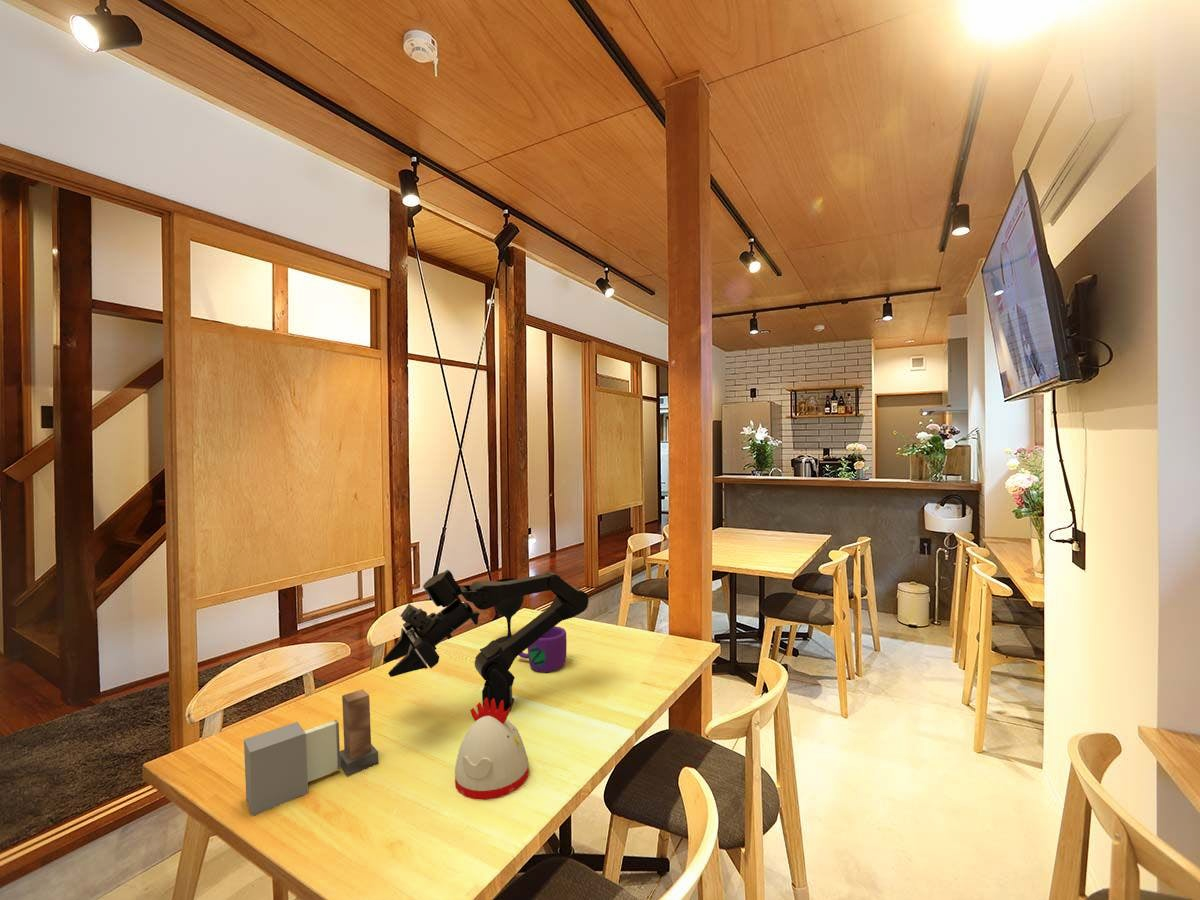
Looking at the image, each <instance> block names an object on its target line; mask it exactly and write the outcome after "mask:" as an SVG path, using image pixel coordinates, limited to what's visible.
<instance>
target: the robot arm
mask: <svg viewBox="0 0 1200 900" xmlns="http://www.w3.org/2000/svg"><path fill="white" fill-rule="evenodd" d="M422 588H423V589H424V591H425V593H427V595H428V596H429V598H430V600H432V602H433V603H434V605H435V607H443V609H441V610H440V611H439V612H438V613H435V612H431V613H430V614H429V615H428V613H427V611H426V610H423V609H422V608H417V607H415V606H413V605H412V604H410V603H408V605H406V607H405V609H404V610H402V612H401V614H400V617H401V620H402V621H403V622H404V623H403V624H402V626H403V627H401V628H400V636H399V639H398V641H397V642H396V643H395V644H394V645H393V646H392V648H391V649H390V650H389V652H388V653H387V654H386V655H385V656H384V657H383V662H384V663H385V664H387V663H390V662H392V661H395V660H397V659H399V658H401V659H400V660H399V662H397V663H396V664H395V665H394V666H393V667H392V668H391V669H390V670H389V671H388V675H389V677H390V678H394V677H396V676H399V675H404V674H407V673H410V672H415V671H418V670H422V669H423V670H427V669H428V668H430V669H432V668H434V667H435V666H436V665H437V664H439V661H440V655H439V654H438V653H437V651H436V650H438V648H437V646H438V645H439V644H440V643H442V642H443V641H444V640H445V639H448V640H450V639H451V638H453V635H452V634H453V633H454V632H455V631H457V630H458V629H459V628H461V627H462V626H464V624H465V623H467V622H468V621H469V620H470V621H471V622H472V623H473V624H474V625H476V626H477V625H478V624H479V617H480V612H479V611H477V610H474V609H473V608H472V607H471V604H472V606H473V607H475V608H477V609H478V610H480V611H483V610H484V611H486V610H488V609H491V608H495V607H494V606H496V605H499V604H500V603H502V602H503V601H505V600H507V599H510V598H515V597H519V596H524V597H525V596H529V595H533V594H538V593H542V592H546V591H551V592H552V593H553V594H554V595H555V596H554V598H553V600H552V601H551V604H550V605H549V607H547V608H546V609H544V611H542V612H541V613H540V614H538V615H537V616H536V617H534V618H533V619H531V621H530V622H528V623H527V624H525V625H524V626H522V628H521V629H519V630H518V631H517V632H515V633H514V634H513V636H511V637H510V638H509V639H508V640H506V641H505V642H502V643H499V644H498V643H497V642H496V641H495V640H496V639H493V640H491V641H490V642H489V643H488V644H487V645H486V646H484V647H482V648H480V649H479V652H478V654H476V656H475V660H474V668H475V669H476V671H477V672H478V674H479V675H480V676H481V678H482V679H483V680H484V681H485V682H484V683H483V685H484V686H483V688H482V691H481V699H482V700H481V701H482V706H483V705H484V699H485V698H488V702H489V706H490V707H491V700H492V699H493V698H494V700H495V703H496V708H497V710H498V708H499V704H500V702H501V701H502V700H503V702H504V711H505V712H506V711H507V710H508V709H509V708H510V712H511V711H512V707H513V705H514V701H515V697H513V685H514V681H515V678H516V677H515V675H514V674H513V673H512V672H511V671H510V669H511V667H512V665H513V664H514V661H515V660H516V658H518V656H519V654H521V653H522V652H523V653H524V651H526V650H528V647H529V646H531V645H532V644H533V643H534V642H536V641H537V640H538V639H539V638H541V637H542V636H543V635H544V634H546V633H547V632H548V631H549V630H551V629H552V628H553V627H554V626H556V627H557V625H558V624H560V623H561V622H562V621H566V620H570V619H573V618H574V617H577V616H578V615H580V614H582V613H583V612H585V611H586V610H587V608H588V607H589V601H590V600H589V596H588V594H587V593H586V592H585V591H583V590H582V589H579V588H577V587H575V586H572V585H570V584H568V583H567V581H565V580H563V578H561V576H559V575H558V574H556V573H554V572H551V571H547V572H546V573H542V574H537V575H532V576H526V577H521V578H516V579H515V580H510V581H505V582H498V581H497V580H477V581H473V582H472V583H471V584H458V581H456V579H455V578H454V575H453V573H452V572H451V571H450V570H449V569H446V570H445V571H443V572H440V573H437V574H436V575H432V576H431V577H430V578H428V580H426V581H425V582H424V584H423V585H422ZM459 596H461V597H462V599H464V600H465V602H463V601H462V599H461V598H460V597H459Z"/></svg>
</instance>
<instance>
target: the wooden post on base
mask: <svg viewBox="0 0 1200 900" xmlns="http://www.w3.org/2000/svg"><path fill="white" fill-rule="evenodd" d="M341 698H342V699H341V701H342V721H343V722H342V723H343V726H342V728H343V744H344V745H343V746H344V747H343V749H340V769H341V770H342V771H343V773H344V774H345V775H346V777H350V776H353V775H355V774H357V773H360V772H362V770H363V771H364V769H365V770H367V769H370V768H371V767H374V765H375V766H377V765H379V761H380V760H379V751H378V749H377V748H376V747H375V746H374V745H373V744H372V731H371V706H370V694H369V693H368V692H367V691H365V690H364V689H363V688H362V689H359V690H355V691H353V692H349V693H346V694H344V695H342V697H341ZM369 767H370V768H369Z"/></svg>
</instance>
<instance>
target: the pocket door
mask: <svg viewBox="0 0 1200 900" xmlns="http://www.w3.org/2000/svg"><path fill="white" fill-rule="evenodd" d="M304 732H305V733H306V757H307V782H308V783H309V782H311V781H314V780H317V779H319V778H321V777H324V776H326V775H329V774H331V773H333V772H337V771H339V770H340V769H341V767H340V751H341V747H340V744H341V743H340V724H339V721H338V720H337V719H334V720H331V721H330V722H326V723H323V724H320V725H318V726H315V727H312V728H309V729H306V730H304Z"/></svg>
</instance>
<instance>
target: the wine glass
mask: <svg viewBox="0 0 1200 900" xmlns="http://www.w3.org/2000/svg"><path fill="white" fill-rule="evenodd" d="M515 579H517V577H516V578H515V577H514V578H512V577H510V578H501V579H498V580H496V581H498V582H505V581H510V580H515ZM524 598H525V595H524V596H519V597H515V598H510V599H507V600H505V601H503V602H502V603H500V604H499V605H496V606H494V607H493V608H494V609H495V610H496V612H498V613H499V614H500V615H501V616H502V617H504V618H505V619H506V622H507V635H505V636H501V637H498V638H496V639H494V640H495V641H496V642H497V643H498V644H499V643H502V642H505V641H506V640H508V639H509V638H510V637H511V636H513V635H514V634H513V635H512V629H511V628H512V627H511V624H512V623H511V621H512V617H513V616H515V615H516V614H517V613H518V612H519V611H520V609H521V607H522V606H523V603H524Z"/></svg>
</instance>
